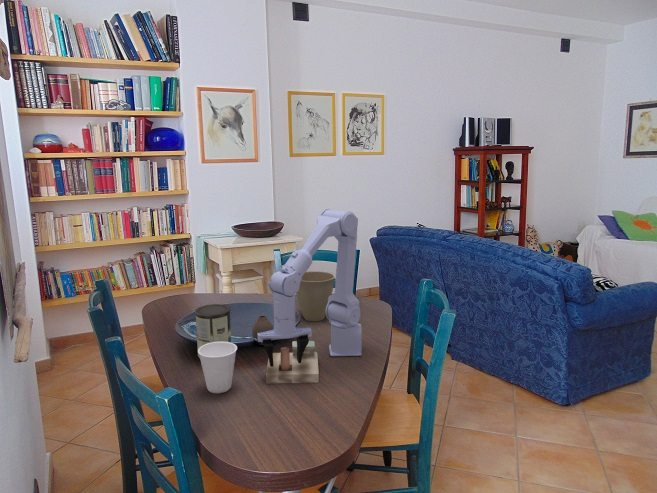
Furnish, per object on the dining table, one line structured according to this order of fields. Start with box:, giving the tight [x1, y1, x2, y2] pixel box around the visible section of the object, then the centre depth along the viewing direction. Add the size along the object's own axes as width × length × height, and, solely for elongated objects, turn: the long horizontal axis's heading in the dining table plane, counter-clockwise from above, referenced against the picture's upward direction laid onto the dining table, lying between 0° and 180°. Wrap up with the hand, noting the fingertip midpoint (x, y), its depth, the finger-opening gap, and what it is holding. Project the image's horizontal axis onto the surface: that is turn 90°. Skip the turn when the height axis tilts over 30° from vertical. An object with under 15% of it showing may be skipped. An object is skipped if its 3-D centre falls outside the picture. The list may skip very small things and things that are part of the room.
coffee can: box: [194, 303, 232, 359], centre depth 148 cm, size 10×10×14 cm
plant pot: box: [295, 270, 336, 322], centre depth 179 cm, size 15×15×16 cm
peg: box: [280, 346, 291, 371], centre depth 134 cm, size 2×2×8 cm
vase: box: [251, 314, 274, 346], centre depth 157 cm, size 7×7×9 cm
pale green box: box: [291, 340, 316, 356], centre depth 142 cm, size 6×4×6 cm, turn 93°
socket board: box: [265, 351, 320, 385], centre depth 138 cm, size 14×14×2 cm
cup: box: [197, 341, 238, 394], centre depth 127 cm, size 10×10×11 cm
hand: (285, 363), depth 134 cm, fingers open, 7 cm apart
